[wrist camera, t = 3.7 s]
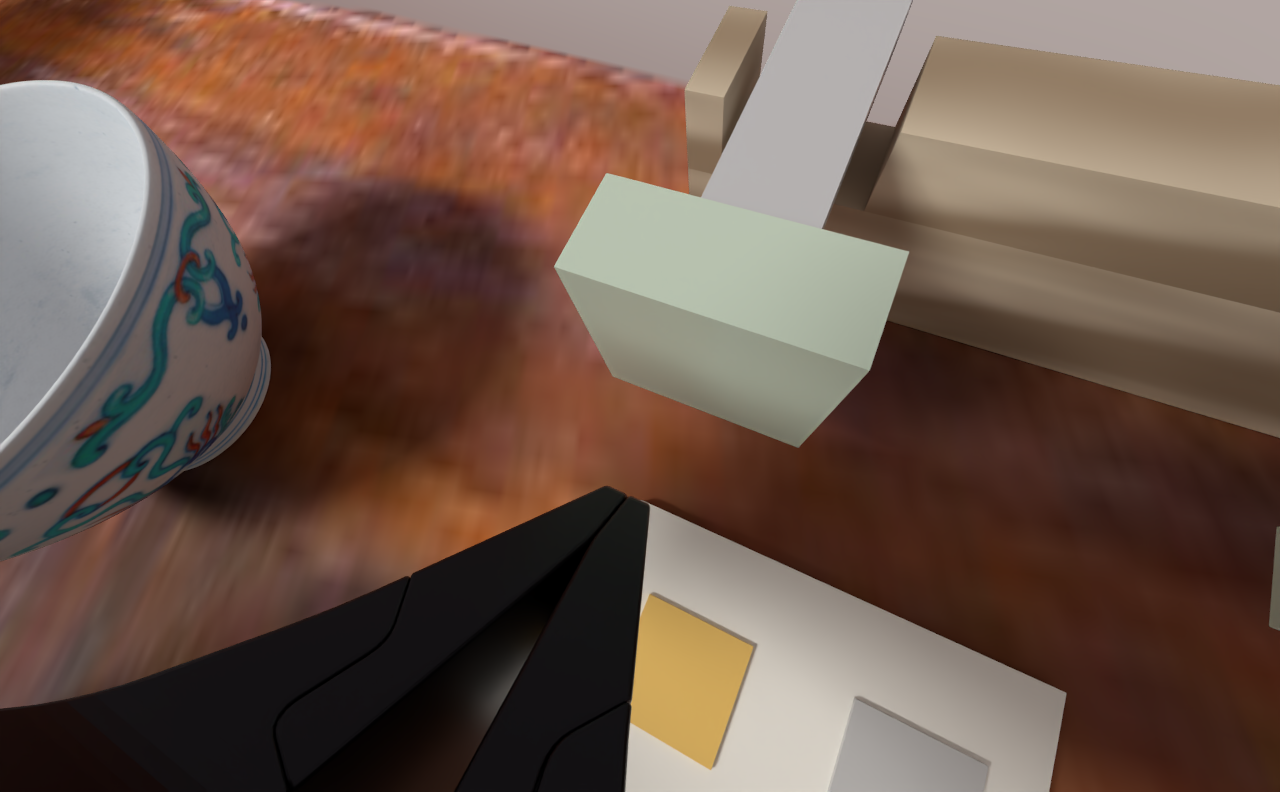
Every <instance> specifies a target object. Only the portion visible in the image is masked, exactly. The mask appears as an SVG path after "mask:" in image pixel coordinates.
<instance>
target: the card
mask: <svg viewBox="0 0 1280 792" xmlns="http://www.w3.org/2000/svg"><path fill="white" fill-rule="evenodd" d="M641 501H642V500H641ZM643 502H645V501H643ZM646 503H647V502H646ZM648 504H649V503H648ZM649 505H650V516H649V527H648V537H647V548H646V558H645V569H644V580H643V590H642V601H641V612H640V622H639V633H638V643H637V654H636V665H635V675H634V686H633V696H632V701H631V706H632V710H631V721H630V731H629V742H628V758H627V774H626V789H625V792H1049V789H1050V784H1051V778H1052V773H1053V767H1054V761H1055V756H1056V750H1057V744H1058V739H1059V733H1060V728H1061V722H1062V716H1063V711H1064V705H1065V699H1066V694H1067V693H1066V692H1063V691H1061V690H1059V689H1057V688H1055V687H1052V686H1050V685H1048V684H1046V683H1044V682H1041V681H1039V680H1037V679H1035V678H1033V677H1030V676H1028V675H1026V674H1024V673H1022V672H1019V671H1017V670H1015V669H1013V668H1011V667H1008V666H1006V665H1004V664H1002V663H1000V662H997V661H995V660H993V659H991V658H988V657H986V656H984V655H982V654H980V653H977V652H975V651H973V650H971V649H969V648H966V647H964V646H962V645H960V644H958V643H955V642H953V641H951V640H949V639H947V638H944V637H942V636H940V635H938V634H936V633H933V632H931V631H929V630H927V629H925V628H922V627H920V626H918V625H916V624H914V623H911V622H909V621H907V620H905V619H903V618H900V617H898V616H896V615H894V614H892V613H889V612H887V611H885V610H883V609H880V608H878V607H876V606H874V605H872V604H869V603H867V602H865V601H863V600H861V599H858V598H856V597H854V596H852V595H850V594H847V593H845V592H843V591H841V590H839V589H836V588H834V587H832V586H830V585H828V584H825V583H823V582H821V581H819V580H817V579H814V578H812V577H810V576H808V575H806V574H803V573H801V572H799V571H797V570H795V569H792V568H790V567H788V566H786V565H784V564H781V563H779V562H777V561H775V560H773V559H770V558H768V557H766V556H764V555H761V554H759V553H757V552H755V551H753V550H750V549H748V548H746V547H744V546H742V545H739V544H737V543H735V542H733V541H731V540H728V539H726V538H724V537H722V536H720V535H717V534H715V533H713V532H711V531H709V530H706V529H704V528H702V527H700V526H698V525H695V524H693V523H691V522H689V521H687V520H684V519H682V518H680V517H678V516H676V515H673V514H671V513H669V512H667V511H665V510H662V509H660V508H658V507H656V506H654V505H651V504H649Z"/></svg>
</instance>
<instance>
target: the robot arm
mask: <svg viewBox="0 0 1280 792" xmlns="http://www.w3.org/2000/svg"><path fill="white" fill-rule="evenodd" d="M649 516H650V505H649V504H648V503H646V502H643V501H641V500H639V499H637V498H634V497H632V496H630V497H627V495H626V494H625V493H623V492H621V491H619V490H617V489H614V488H612V487H610V486H604V487H601V488H599V489H597V490H595V491H593V492H590V493H588V494H586V495H584V496H582V497H579V498H577V499H575V500H573V501H571V502H568V503H566V504H564V505H562V506H560V507H558V508H555V509H553V510H551V511H549V512H547V513H544V514H542V515H540V516H538V517H536V518H533V519H531V520H529V521H527V522H525V523H522V524H520V525H518V526H516V527H514V528H511V529H509V530H507V531H505V532H503V533H500V534H498V535H496V536H494V537H492V538H489V539H487V540H485V541H483V542H481V543H478V544H476V545H474V546H472V547H470V548H467V549H465V550H463V551H461V552H459V553H456V554H454V555H452V556H450V557H448V558H445V559H443V560H441V561H439V562H437V563H434V564H432V565H430V566H428V567H426V568H423V569H421V570H419V571H417V572H415V573H413V574H412V575H411V578H410V577H408V576H406V577H403V578H401V579H399V580H397V581H394V582H392V583H390V584H388V585H386V586H383V587H381V588H379V589H377V590H374V591H372V592H370V593H367V594H365V595H363V596H360V597H358V598H356V599H353V600H351V601H349V602H346V603H344V604H342V605H339V606H337V607H335V608H332V609H330V610H327V611H324V612H322V613H319V614H317V615H314V616H311V617H309V618H306V619H303V620H301V621H298V622H296V623H293V624H290V625H288V626H285V627H283V628H280V629H277V630H274V631H272V632H269V633H266V634H263V635H261V636H258V637H255V638H252V639H250V640H247V641H244V642H241V643H239V644H236V645H233V646H230V647H228V648H225V649H222V650H219V651H217V652H214V653H211V654H208V655H206V656H203V657H200V658H197V659H194V660H192V661H189V662H186V663H183V664H181V665H178V666H175V667H172V668H170V669H167V670H164V671H161V672H159V673H156V674H153V675H150V676H148V677H145V678H142V679H139V680H136V681H133V682H130V683H127V684H124V685H121V686H117V687H113V688H110V689H106V690H103V691H99V692H96V693H92V694H87V695H83V696H79V697H74V698H70V699H66V700H60V701H54V702H49V703H43V704H38V705H30V706H21V707H13V708H3V709H0V792H625V789H626V774H627V758H628V742H629V731H630V721H631V710H632V706H631V701H632V696H633V686H634V675H635V665H636V654H637V643H638V633H639V622H640V612H641V601H642V590H643V580H644V569H645V558H646V548H647V537H648V527H649Z"/></svg>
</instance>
